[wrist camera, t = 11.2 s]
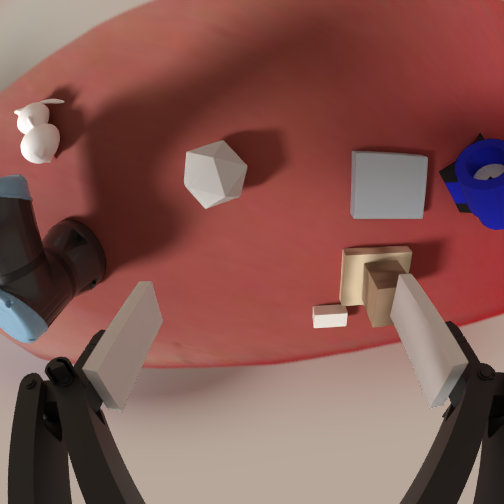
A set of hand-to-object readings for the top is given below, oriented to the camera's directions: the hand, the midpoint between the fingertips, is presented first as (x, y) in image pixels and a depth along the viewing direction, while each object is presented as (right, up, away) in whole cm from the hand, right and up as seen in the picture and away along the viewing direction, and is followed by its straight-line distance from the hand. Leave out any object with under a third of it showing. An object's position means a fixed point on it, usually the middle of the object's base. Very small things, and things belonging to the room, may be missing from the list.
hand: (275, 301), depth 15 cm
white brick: (+13, -8, +38) cm, 41 cm away
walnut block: (+20, -2, +32) cm, 38 cm away
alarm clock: (+38, +16, +24) cm, 48 cm away
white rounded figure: (-38, +26, +26) cm, 52 cm away
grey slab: (+20, +13, +27) cm, 36 cm away
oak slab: (+20, -1, +34) cm, 40 cm away
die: (-6, +15, +28) cm, 33 cm away
